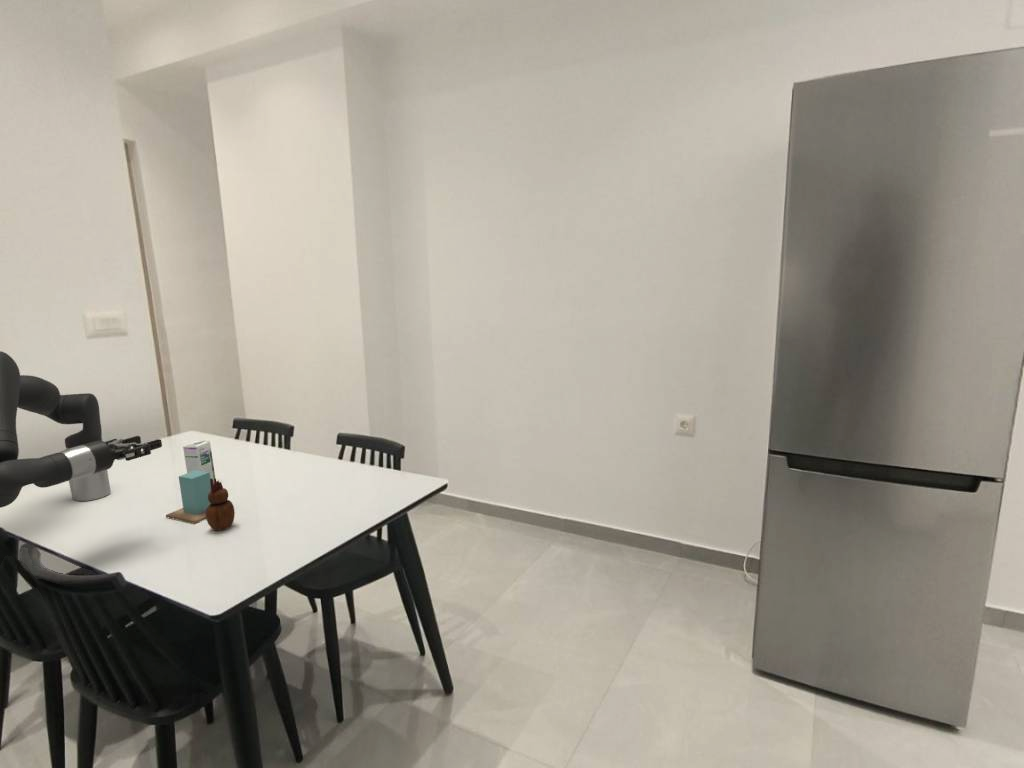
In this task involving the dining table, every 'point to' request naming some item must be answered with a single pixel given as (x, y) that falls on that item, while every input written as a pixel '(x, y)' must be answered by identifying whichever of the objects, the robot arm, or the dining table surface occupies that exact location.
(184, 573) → the dining table surface
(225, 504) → the wooden figurine
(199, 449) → the syrup box
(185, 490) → the tall teal pillar
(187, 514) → the brown base plate
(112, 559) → the dining table surface
